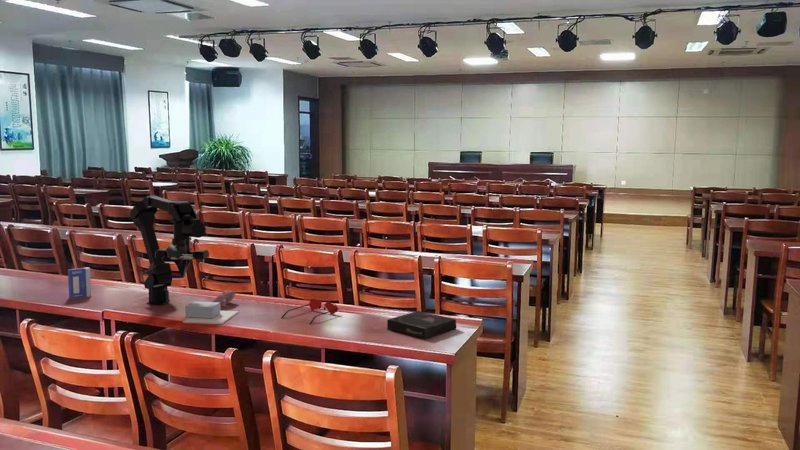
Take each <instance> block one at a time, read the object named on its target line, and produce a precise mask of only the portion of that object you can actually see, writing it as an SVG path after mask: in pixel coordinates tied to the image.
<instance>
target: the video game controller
mask: <svg viewBox="0 0 800 450" xmlns="http://www.w3.org/2000/svg"><path fill="white" fill-rule="evenodd" d="M235 297H236V292H235V291H234V290H231V289H229V290H223V291H222V292H221V293H219V294H218V295H217V297H216V298H215V299H213V300H212V301H211V302H220V307H224V306H225V304H226V305H229V304H230V303H231V301H232V300H234V298H235Z"/></svg>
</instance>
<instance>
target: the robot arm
mask: <svg viewBox="0 0 800 450" xmlns="http://www.w3.org/2000/svg"><path fill="white" fill-rule="evenodd" d="M159 210H162V211H164V212H167V214H168V215H169V216H170V217H172V219H170V220H169V222H170V223H171V224H172V223H173V224H172V225H173V226H172V228H173V229H172V230H173V238H172V239H171V244H170V245H169V246H168V247H167V248H164V247H163V248H160V246H159V243H158V238H157V236H156V232H155V231H156V230H155V228H154V224H155V221H156V216H155V215H156V213H158V211H159ZM129 215H130V218H131V220H132V222H133V224H134V225H135V226H136V227H137V228H138V229H139V231H140V233H141V237H142V238H141V239H142V241H143V245H144V247H145V252H146V255H147V258H148V262H149V267H148V270H147V277H146V279H145V281H144V282H143V285H144V289H148V301H147V302H146V304H148V305H165V304H166V303H168V302H170V300H171V299H170V294H169V293H170V292H169V289H168V287H172V283H173V277H174V274H173V270H172V268H171V264H170V263H169V262H166V261H164V258H165V257H166V256H167V258H168V259H169V260H170V261H172V262H173V263H175V265H176V267H177V270H178V273H179V274H180V277H182V278H184V277H185V276H186V273H187V271H188V269H189V266H190V264H191V263H192V260H205V259H207V258H210V251H209V250H208V249H197V250H194V251H192V250H193V249H192V247H191V241H192V238H195V239H196V238H197V239H199V238H201V237H203V236H204V235H205V232H206V227H205V225H204V223H202V222H201V219H200V218H198V215H197V213H196V212H195V210H194V207H193V205H192V203H191V202H190V201H186V200H185V201H184V200H183V201H181V200H180V201H174V200H170V199H167V198H163V197H160V196H158V195H147V196H145V197H143V198H142V200H141V201H139V202H137V203H136V204H134V206H133V207H132V208H131V210H130V214H129Z"/></svg>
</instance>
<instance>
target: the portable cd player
mask: <svg viewBox="0 0 800 450" xmlns="http://www.w3.org/2000/svg"><path fill="white" fill-rule="evenodd" d="M386 320H387V322H386V324H387V327H386V328H387V329H386V330H387V331H390V332H394V333H398V334H401V335H405V336H409V337H413V338H416V339H421V340H423V341H425V340H426V341H427V340H429V339H431V338H435V337H437V336H441V335H443V334H446V333H449V332H453V331H456V330H457V321H456V319H455V318H452V317H447V316H442V315H438V314H434V313H429V312H424V311H421V310H417V311H415V312H414V311H413V312H409V313H405V314H403V315H399V316H395V317H392V318H388V319H386Z"/></svg>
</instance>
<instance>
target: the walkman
mask: <svg viewBox="0 0 800 450" xmlns="http://www.w3.org/2000/svg"><path fill="white" fill-rule="evenodd" d="M91 275H92V273H91V267H89V266H88V267H78V268H70V269H69V268H68V269H67V279H68V280H67V281H68V283H67V285H68V298H69V299H71V300H75V298H76V299H81V298H82V297H83V298H89V297H90V298H91V297H92V281H91V278H92V277H91Z"/></svg>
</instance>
